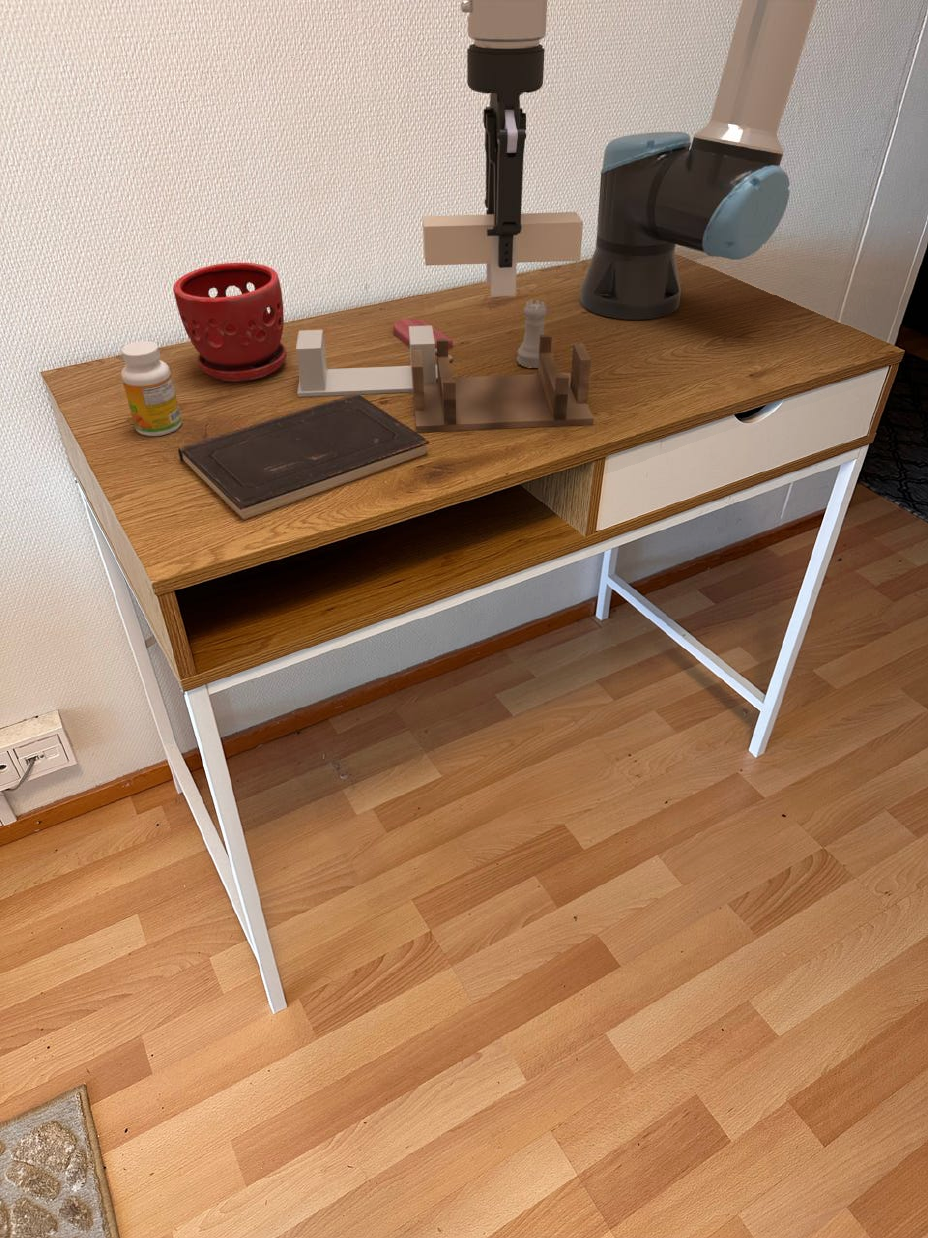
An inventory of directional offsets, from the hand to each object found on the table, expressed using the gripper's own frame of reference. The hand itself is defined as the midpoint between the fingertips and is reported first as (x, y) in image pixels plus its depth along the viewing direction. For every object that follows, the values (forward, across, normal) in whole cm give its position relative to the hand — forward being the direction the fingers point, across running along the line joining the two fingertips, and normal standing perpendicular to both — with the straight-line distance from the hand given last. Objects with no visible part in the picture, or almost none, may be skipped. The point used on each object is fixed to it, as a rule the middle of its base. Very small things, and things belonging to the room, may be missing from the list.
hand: (500, 287), depth 99 cm
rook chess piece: (+14, -12, +6) cm, 20 cm away
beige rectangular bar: (-3, 0, 0) cm, 3 cm away
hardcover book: (+15, +11, -23) cm, 30 cm away
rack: (+14, 0, 0) cm, 14 cm away
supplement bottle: (+15, +2, -41) cm, 43 cm away
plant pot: (+15, -14, -33) cm, 39 cm away
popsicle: (+15, -20, -8) cm, 26 cm away
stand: (+14, -8, -16) cm, 23 cm away
